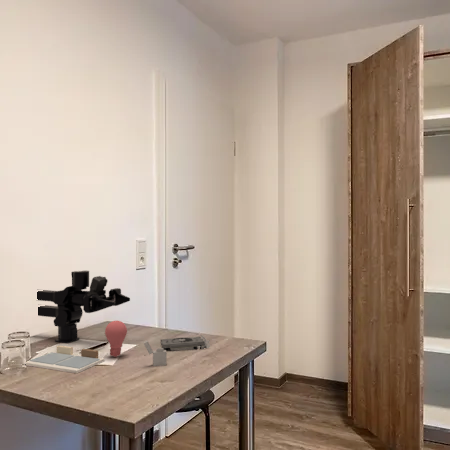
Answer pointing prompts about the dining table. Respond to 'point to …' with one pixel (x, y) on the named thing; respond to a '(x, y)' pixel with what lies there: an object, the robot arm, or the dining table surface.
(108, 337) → the light bulb
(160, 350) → the lighter
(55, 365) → the board
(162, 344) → the graphics card
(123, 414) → the dining table surface
